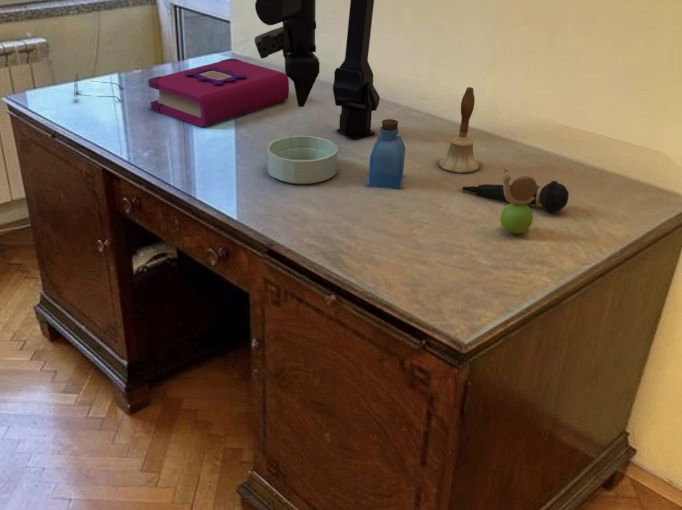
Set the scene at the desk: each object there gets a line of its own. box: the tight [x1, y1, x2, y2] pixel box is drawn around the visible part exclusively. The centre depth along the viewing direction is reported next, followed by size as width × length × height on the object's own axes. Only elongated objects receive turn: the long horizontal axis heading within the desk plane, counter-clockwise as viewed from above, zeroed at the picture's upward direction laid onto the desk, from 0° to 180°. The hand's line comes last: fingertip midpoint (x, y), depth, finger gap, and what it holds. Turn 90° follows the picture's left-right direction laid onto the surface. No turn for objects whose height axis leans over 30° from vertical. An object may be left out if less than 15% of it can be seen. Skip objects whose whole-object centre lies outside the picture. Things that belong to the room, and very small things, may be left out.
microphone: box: [461, 180, 570, 214], centre depth 145 cm, size 6×6×20 cm
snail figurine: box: [500, 166, 538, 235], centre depth 132 cm, size 5×6×12 cm
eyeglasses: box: [73, 72, 122, 102], centre depth 196 cm, size 11×13×5 cm
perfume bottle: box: [368, 118, 406, 190], centre depth 150 cm, size 6×6×12 cm
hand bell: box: [438, 86, 480, 174], centre depth 156 cm, size 8×8×16 cm
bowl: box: [266, 135, 339, 185], centre depth 156 cm, size 14×14×5 cm
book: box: [147, 58, 290, 128], centre depth 190 cm, size 21×28×8 cm
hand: (299, 99), depth 152 cm, fingers open, 9 cm apart
